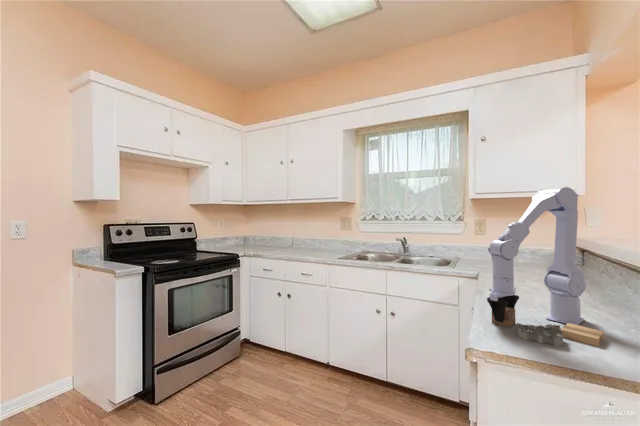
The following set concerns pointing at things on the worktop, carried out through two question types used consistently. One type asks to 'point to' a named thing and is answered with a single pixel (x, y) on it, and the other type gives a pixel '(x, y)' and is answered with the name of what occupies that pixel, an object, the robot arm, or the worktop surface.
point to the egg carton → (541, 333)
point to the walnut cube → (506, 318)
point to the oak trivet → (583, 334)
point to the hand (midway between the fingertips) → (503, 319)
